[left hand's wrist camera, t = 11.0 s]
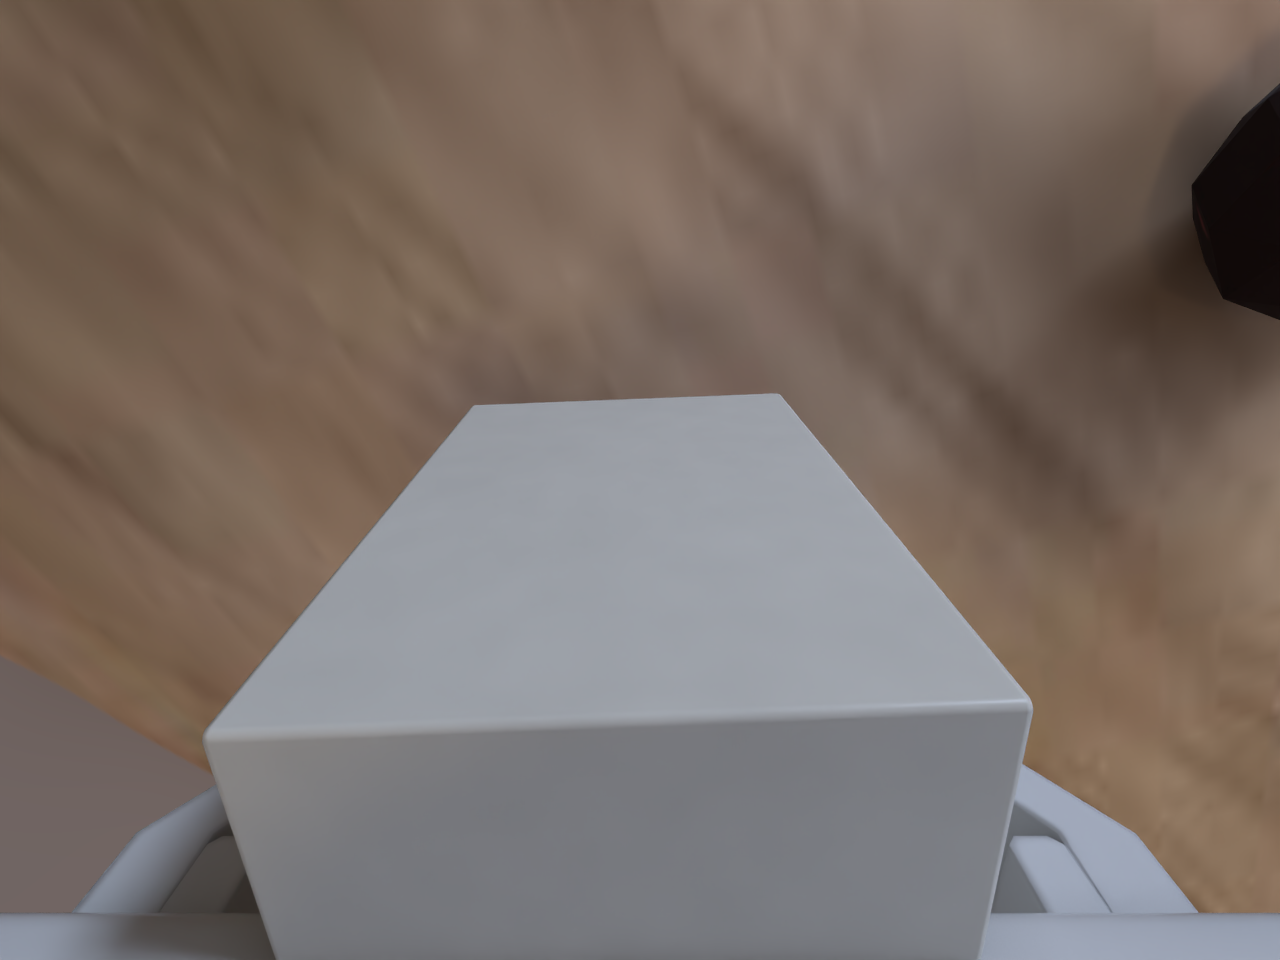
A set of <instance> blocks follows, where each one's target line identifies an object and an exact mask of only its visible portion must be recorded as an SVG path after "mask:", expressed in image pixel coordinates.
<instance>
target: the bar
mask: <svg viewBox="0 0 1280 960" xmlns="http://www.w3.org/2000/svg"><path fill="white" fill-rule="evenodd" d="M1032 715H1033V706H1032V702H1031V699H1030V698H1029V696H1028V695H1027V694H1026V693H1025V691H1024V690H1023V689H1022V688H1021V687H1020V685H1019V684H1018V683H1017V682H1016V681H1015V679H1014V678H1013V677H1012V676H1011V674H1010V673H1009V672H1008V671H1007V670H1006V668H1005V667H1004V666H1003V665H1002V664H1001V662H1000V661H999V660H998V659H997V657H996V656H995V655H994V654H993V653H992V651H991V650H990V649H989V648H988V647H987V645H986V644H985V643H984V642H983V640H982V639H981V638H980V637H979V636H978V634H977V633H976V632H975V631H974V630H973V628H972V627H971V626H970V625H969V623H968V622H967V621H966V620H965V619H964V617H963V616H962V615H961V614H960V613H959V611H958V610H957V609H956V608H955V606H954V605H953V604H952V603H951V602H950V600H949V599H948V598H947V597H946V596H945V594H944V593H943V592H942V591H941V589H940V588H939V587H938V586H937V585H936V583H935V582H934V581H933V580H932V579H931V577H930V576H929V575H928V574H927V572H926V571H925V570H924V569H923V568H922V566H921V565H920V564H919V563H918V562H917V560H916V559H915V558H914V557H913V555H912V554H911V553H910V552H909V551H908V549H907V548H906V547H905V546H904V545H903V543H902V542H901V541H900V540H899V538H898V537H897V536H896V535H895V534H894V532H893V531H892V530H891V529H890V528H889V526H888V525H887V524H886V523H885V521H884V520H883V519H882V518H881V517H880V515H879V514H878V513H877V512H876V511H875V509H874V508H873V507H872V506H871V504H870V503H869V502H868V501H867V500H866V498H865V497H864V496H863V495H862V494H861V492H860V491H859V490H858V489H857V487H856V486H855V485H854V484H853V483H852V481H851V480H850V479H849V478H848V477H847V475H846V474H845V473H844V472H843V470H842V469H841V468H840V467H839V466H838V464H837V463H836V462H835V461H834V460H833V458H832V457H831V456H830V455H829V453H828V452H827V451H826V450H825V449H824V447H823V446H822V445H821V444H820V443H819V441H818V440H817V439H816V438H815V436H814V435H813V434H812V433H811V432H810V430H809V429H808V428H807V427H806V426H805V424H804V423H803V422H802V421H801V420H800V418H799V417H798V416H797V415H796V413H795V412H794V411H793V410H792V409H791V407H790V406H789V405H788V404H787V403H786V401H785V400H784V399H783V398H782V396H781V395H780V394H752V395H726V396H701V397H675V398H650V399H624V400H599V401H573V402H548V403H522V404H497V405H475V406H472V407H471V408H470V410H469V411H468V412H467V413H466V415H465V416H464V417H463V418H462V419H461V421H460V422H459V423H458V424H457V425H456V427H455V428H454V429H453V430H452V431H451V433H450V434H449V435H448V436H447V438H446V439H445V440H444V441H443V442H442V444H441V445H440V446H439V447H438V448H437V450H436V451H435V452H434V453H433V454H432V456H431V457H430V458H429V459H428V460H427V462H426V463H425V464H424V465H423V467H422V468H421V469H420V470H419V471H418V473H417V474H416V475H415V476H414V477H413V479H412V480H411V481H410V482H409V483H408V485H407V486H406V487H405V488H404V490H403V491H402V492H401V493H400V494H399V496H398V497H397V498H396V499H395V500H394V502H393V503H392V504H391V505H390V506H389V508H388V509H387V510H386V511H385V512H384V514H383V515H382V516H381V517H380V519H379V520H378V521H377V522H376V523H375V525H374V526H373V527H372V528H371V529H370V531H369V532H368V533H367V534H366V535H365V537H364V538H363V539H362V540H361V542H360V543H359V544H358V545H357V546H356V548H355V549H354V550H353V551H352V552H351V554H350V555H349V556H348V557H347V558H346V560H345V561H344V562H343V563H342V565H341V566H340V567H339V568H338V569H337V571H336V572H335V573H334V574H333V575H332V577H331V578H330V579H329V580H328V581H327V583H326V584H325V585H324V586H323V587H322V589H321V590H320V591H319V592H318V594H317V595H316V596H315V597H314V598H313V600H312V601H311V602H310V603H309V604H308V606H307V607H306V608H305V609H304V610H303V612H302V613H301V614H300V615H299V617H298V618H297V619H296V620H295V621H294V623H293V624H292V625H291V626H290V627H289V629H288V630H287V631H286V632H285V633H284V635H283V636H282V637H281V638H280V639H279V641H278V642H277V643H276V644H275V646H274V647H273V648H272V649H271V650H270V652H269V653H268V654H267V655H266V656H265V658H264V659H263V660H262V661H261V662H260V664H259V665H258V666H257V667H256V669H255V670H254V671H253V672H252V673H251V675H250V676H249V677H248V678H247V679H246V681H245V682H244V683H243V684H242V685H241V687H240V688H239V689H238V690H237V691H236V693H235V694H234V695H233V696H232V698H231V699H230V700H229V701H228V702H227V704H226V705H225V706H224V707H223V708H222V710H221V711H220V712H219V713H218V714H217V716H216V717H215V718H214V719H213V721H212V722H211V723H210V724H209V725H208V727H207V728H206V729H205V731H204V734H203V738H202V743H203V746H204V749H205V752H206V755H207V758H208V761H209V764H210V767H211V770H212V773H213V776H214V779H215V782H216V785H217V788H218V791H219V794H220V797H221V800H222V802H223V805H224V808H225V811H226V814H227V817H228V820H229V823H230V826H231V829H232V832H233V835H234V838H235V841H236V844H237V847H238V850H239V853H240V856H241V858H242V861H243V864H244V867H245V870H246V873H247V876H248V879H249V882H250V885H251V888H252V891H253V894H254V897H255V900H256V903H257V906H258V909H259V912H260V915H261V917H262V920H263V923H264V926H265V929H266V932H267V935H268V938H269V941H270V944H271V947H272V950H273V953H274V956H275V959H276V960H978V959H980V958H981V956H982V952H983V947H984V942H985V937H986V933H987V928H988V923H989V918H990V914H991V909H992V904H993V899H994V895H995V890H996V885H997V880H998V876H999V871H1000V866H1001V862H1002V857H1003V852H1004V847H1005V843H1006V838H1007V833H1008V828H1009V824H1010V819H1011V814H1012V809H1013V805H1014V800H1015V795H1016V790H1017V786H1018V781H1019V776H1020V772H1021V767H1022V762H1023V757H1024V753H1025V748H1026V743H1027V738H1028V734H1029V729H1030V724H1031V719H1032Z"/></svg>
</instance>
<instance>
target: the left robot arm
mask: <svg viewBox="0 0 1280 960" xmlns="http://www.w3.org/2000/svg"><path fill="white" fill-rule="evenodd" d="M0 960H276V959H275V956H274V953H273V950H272V947H271V944H270V941H269V938H268V935H267V932H266V929H265V926H264V923H263V920H262V917H261V915H260V912H259V909H258V906H257V903H256V900H255V897H254V894H253V891H252V888H251V885H250V882H249V879H248V876H247V873H246V870H245V867H244V864H243V861H242V858H241V856H240V853H239V850H238V847H237V844H236V841H235V838H234V835H233V832H232V829H231V826H230V823H229V820H228V817H227V814H226V811H225V808H224V805H223V802H222V800H221V797H220V794H219V791H218V788H217V785H214V786H212V787H211V788H209V789H208V790H206V791H204V792H203V793H201V794H199V795H198V796H196V797H194V798H193V799H191V800H189V801H188V802H186V803H184V804H183V805H181V806H180V807H178V808H176V809H175V810H173V811H171V812H170V813H168V814H166V815H165V816H163V817H161V818H160V819H158V820H156V821H155V822H153V823H151V824H150V825H148V826H147V827H145V828H143V829H142V830H140V831H138V832H137V833H136V834H135V835H134V836H133V837H132V839H131V840H130V841H129V842H128V844H127V845H126V846H125V847H124V849H123V850H122V851H121V852H120V853H119V855H118V856H117V857H116V858H115V860H114V861H113V862H112V863H111V865H110V866H109V867H108V868H107V869H106V871H105V872H104V873H103V874H102V876H101V877H100V878H99V879H98V881H97V882H96V883H95V884H94V885H93V887H92V888H91V889H90V890H89V892H88V893H87V894H86V895H85V896H84V898H83V899H82V900H81V901H80V903H79V904H78V905H77V906H76V908H75V909H74V910H73V911H72V912H71V913H0ZM978 960H1280V913H1198V911H1197V910H1196V909H1195V908H1194V906H1193V905H1192V904H1191V903H1190V901H1189V900H1188V899H1187V897H1186V896H1185V895H1184V894H1183V892H1182V891H1181V890H1180V889H1179V887H1178V886H1177V885H1176V884H1175V882H1174V881H1173V880H1172V879H1171V877H1170V876H1169V875H1168V874H1167V872H1166V871H1165V870H1164V868H1163V867H1162V866H1161V865H1160V863H1159V862H1158V861H1157V860H1156V858H1155V857H1154V856H1153V855H1152V853H1151V852H1150V851H1149V850H1148V848H1147V847H1146V846H1145V845H1144V843H1143V842H1142V841H1141V839H1140V838H1139V837H1138V836H1137V834H1135V833H1134V832H1132V831H1131V830H1129V829H1127V828H1126V827H1124V826H1122V825H1121V824H1119V823H1118V822H1116V821H1114V820H1113V819H1111V818H1109V817H1108V816H1106V815H1105V814H1103V813H1101V812H1100V811H1098V810H1096V809H1095V808H1093V807H1092V806H1090V805H1088V804H1087V803H1085V802H1083V801H1082V800H1080V799H1079V798H1077V797H1075V796H1074V795H1072V794H1070V793H1069V792H1067V791H1066V790H1064V789H1062V788H1061V787H1059V786H1057V785H1056V784H1054V783H1053V782H1051V781H1049V780H1048V779H1046V778H1044V777H1043V776H1041V775H1040V774H1038V773H1036V772H1035V771H1033V770H1031V769H1030V768H1028V767H1027V766H1025V765H1023V764H1022V767H1021V772H1020V776H1019V781H1018V786H1017V790H1016V795H1015V800H1014V805H1013V809H1012V814H1011V819H1010V824H1009V828H1008V833H1007V838H1006V843H1005V847H1004V852H1003V857H1002V862H1001V866H1000V871H999V876H998V880H997V885H996V890H995V895H994V899H993V904H992V909H991V914H990V918H989V923H988V928H987V933H986V937H985V942H984V947H983V952H982V956H981V958H980V959H978Z"/></svg>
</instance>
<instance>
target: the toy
mask: <svg viewBox="0 0 1280 960" xmlns="http://www.w3.org/2000/svg"><path fill="white" fill-rule="evenodd" d="M1192 206H1193V220H1194V223H1195V227H1196V231H1197V235H1198V238H1199V242H1200V246H1201V250H1202V253H1203V257H1204V261H1205V263H1206V265H1207V267H1208V269H1209V271H1210V273H1211V275H1212V277H1213V279H1214V281H1215V283H1216V285H1217V287H1218V289H1219V291H1220V293H1221V295H1222V297H1223V299H1225V300H1228V301H1231V302H1233V303H1236V304H1239V305H1241V306H1244V307H1247V308H1249V309H1252V310H1255V311H1257V312H1260V313H1263V314H1265V315H1268V316H1271V317H1273V318H1276V319H1279V320H1280V84H1279V85H1278V86H1277V87H1276V88H1274V89H1273V90H1272V91H1271V92H1270V93H1269V94H1268V95H1267V96H1266V97H1265V98H1263V99H1262V100H1261V101H1260V102H1259V103H1258V104H1257V105H1256V106H1255V107H1254V108H1252V109H1251V110H1250V111H1249V112H1248V113H1247V114H1246V115H1245V116H1244V117H1243V118H1242V119H1241V120H1240V122H1239V123H1238V124H1237V126H1236V127H1235V128H1234V130H1233V131H1232V132H1231V134H1230V135H1229V136H1228V138H1227V139H1226V140H1225V142H1224V143H1223V144H1222V146H1221V147H1220V148H1219V150H1218V151H1217V152H1216V154H1215V155H1214V156H1213V158H1212V159H1211V160H1210V162H1209V163H1208V164H1207V166H1206V167H1205V168H1204V170H1203V171H1202V172H1201V174H1200V175H1199V176H1198V178H1197V179H1196V180H1195V182H1194V183H1193V184H1192Z"/></svg>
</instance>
